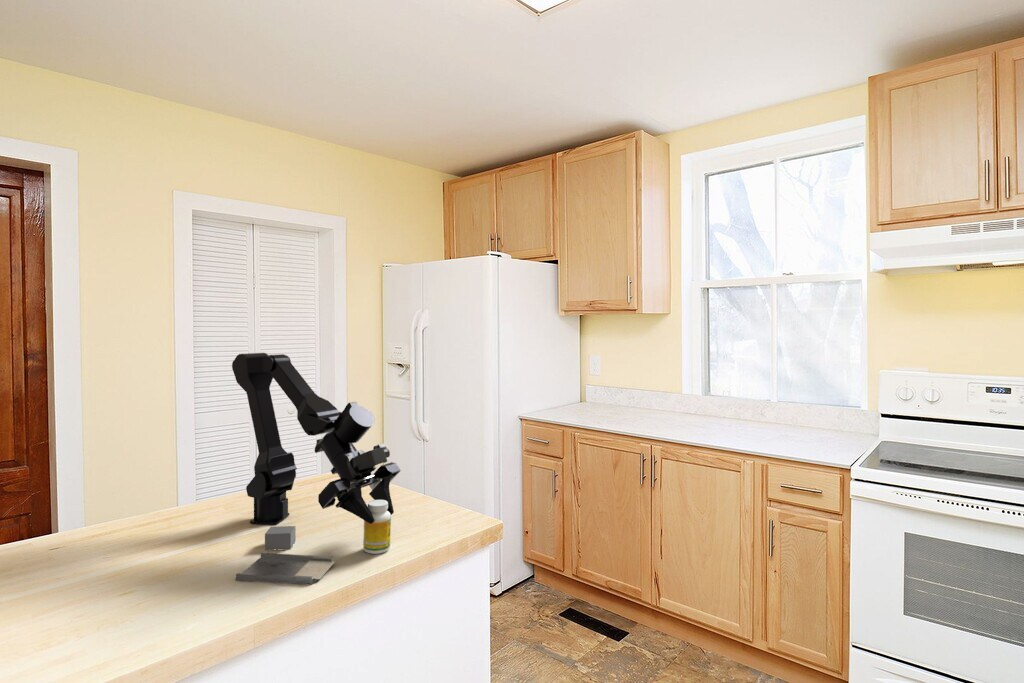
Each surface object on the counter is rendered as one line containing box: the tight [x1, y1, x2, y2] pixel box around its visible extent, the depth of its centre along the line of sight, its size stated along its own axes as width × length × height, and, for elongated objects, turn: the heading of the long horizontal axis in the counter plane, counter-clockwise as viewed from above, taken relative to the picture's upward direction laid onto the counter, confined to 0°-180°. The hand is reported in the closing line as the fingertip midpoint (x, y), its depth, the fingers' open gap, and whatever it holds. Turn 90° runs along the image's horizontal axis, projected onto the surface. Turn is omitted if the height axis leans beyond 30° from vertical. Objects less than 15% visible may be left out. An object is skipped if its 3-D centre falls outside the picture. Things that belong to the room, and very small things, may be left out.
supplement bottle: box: [362, 499, 392, 555], centre depth 114 cm, size 5×5×10 cm
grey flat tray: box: [235, 552, 336, 585], centre depth 104 cm, size 15×9×1 cm, turn 86°
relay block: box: [264, 525, 297, 551], centre depth 115 cm, size 5×4×4 cm
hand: (382, 518), depth 113 cm, fingers closed on supplement bottle, 5 cm apart
